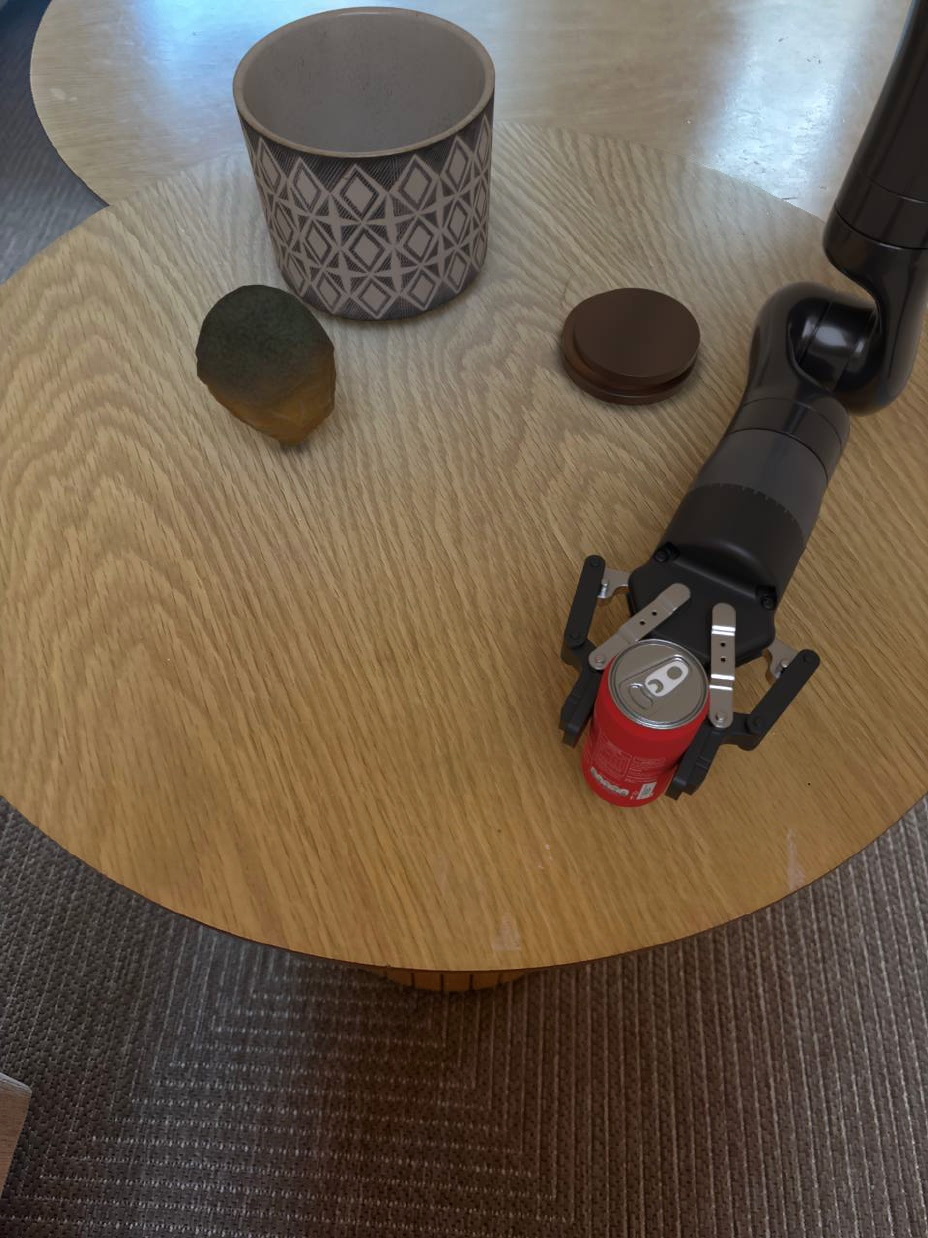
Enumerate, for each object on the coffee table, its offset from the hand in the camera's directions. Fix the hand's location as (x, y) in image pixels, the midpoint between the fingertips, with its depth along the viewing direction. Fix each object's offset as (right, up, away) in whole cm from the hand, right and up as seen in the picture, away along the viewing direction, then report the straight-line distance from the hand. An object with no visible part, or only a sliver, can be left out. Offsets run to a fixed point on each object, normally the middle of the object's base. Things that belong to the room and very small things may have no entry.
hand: (621, 765), depth 45 cm
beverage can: (+1, -2, +7) cm, 8 cm away
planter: (-15, +39, +34) cm, 54 cm away
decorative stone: (-22, +21, +24) cm, 38 cm away
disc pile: (+6, +29, +28) cm, 41 cm away
